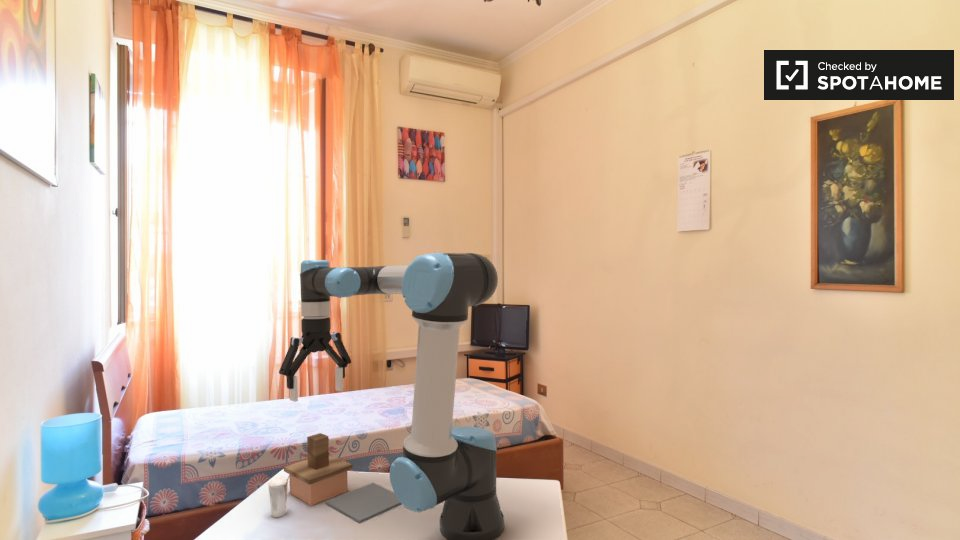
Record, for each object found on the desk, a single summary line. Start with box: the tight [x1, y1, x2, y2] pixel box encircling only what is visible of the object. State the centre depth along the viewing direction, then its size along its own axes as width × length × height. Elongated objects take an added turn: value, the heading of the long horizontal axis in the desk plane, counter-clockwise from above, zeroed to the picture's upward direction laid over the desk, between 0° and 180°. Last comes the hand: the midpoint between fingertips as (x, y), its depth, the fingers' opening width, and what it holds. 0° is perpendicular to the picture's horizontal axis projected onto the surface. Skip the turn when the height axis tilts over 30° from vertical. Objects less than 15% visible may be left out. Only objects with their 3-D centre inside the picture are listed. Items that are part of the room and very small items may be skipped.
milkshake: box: [267, 474, 290, 518], centre depth 130 cm, size 4×5×10 cm
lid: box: [283, 432, 353, 485], centre depth 142 cm, size 13×13×9 cm
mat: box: [324, 482, 402, 524], centre depth 136 cm, size 15×15×1 cm
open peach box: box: [288, 471, 349, 506], centre depth 142 cm, size 11×11×6 cm
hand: (317, 395), depth 141 cm, fingers open, 13 cm apart
